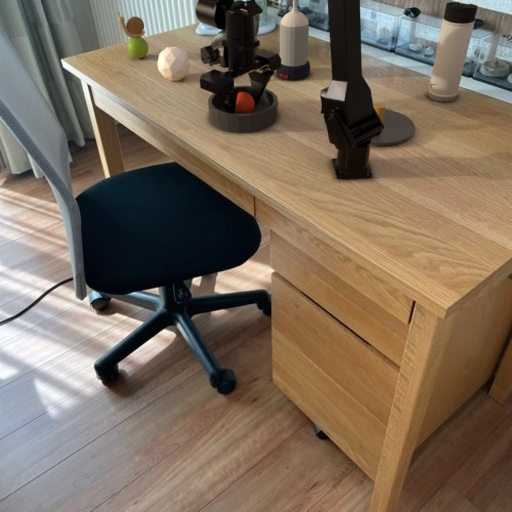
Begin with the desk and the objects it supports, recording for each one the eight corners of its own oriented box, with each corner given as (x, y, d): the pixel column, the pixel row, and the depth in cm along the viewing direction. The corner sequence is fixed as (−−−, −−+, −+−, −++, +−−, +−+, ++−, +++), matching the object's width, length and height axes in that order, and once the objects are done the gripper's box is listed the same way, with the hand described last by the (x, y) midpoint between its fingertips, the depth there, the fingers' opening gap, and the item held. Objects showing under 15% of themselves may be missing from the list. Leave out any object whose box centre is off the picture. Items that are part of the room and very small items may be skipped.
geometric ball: (185, 89, 132) (198, 68, 125) (154, 84, 127) (166, 62, 121) (180, 65, 134) (192, 43, 128) (150, 59, 130) (161, 36, 123)
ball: (255, 120, 112) (254, 97, 108) (232, 121, 112) (230, 99, 108) (254, 109, 115) (253, 87, 112) (231, 110, 115) (229, 88, 112)
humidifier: (276, 81, 128) (277, -35, 111) (276, 68, 134) (277, -44, 118) (310, 80, 127) (316, -35, 111) (308, 67, 134) (314, -44, 117)
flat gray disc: (423, 146, 103) (428, 121, 99) (345, 149, 102) (348, 124, 99) (403, 111, 114) (407, 87, 111) (333, 114, 114) (335, 90, 110)
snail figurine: (123, 56, 142) (114, 9, 134) (146, 52, 144) (139, 5, 136) (128, 63, 138) (119, 15, 130) (152, 59, 140) (145, 11, 132)
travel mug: (424, 99, 118) (443, 4, 105) (431, 88, 123) (450, -5, 110) (452, 105, 116) (475, 8, 103) (458, 93, 121) (481, -1, 107)
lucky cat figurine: (199, 54, 141) (206, -1, 138) (237, 64, 148) (245, 11, 145) (228, 54, 130) (237, -7, 126) (267, 64, 137) (276, 6, 133)
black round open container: (280, 131, 108) (280, 114, 106) (209, 134, 108) (207, 117, 106) (274, 100, 119) (274, 84, 117) (210, 103, 119) (208, 86, 117)
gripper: (242, 15, 112) (245, 86, 122) (176, 39, 102) (185, 114, 112) (283, 26, 106) (282, 99, 116) (217, 52, 96) (222, 130, 106)
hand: (243, 110), depth 113 cm, fingers open, 7 cm apart
